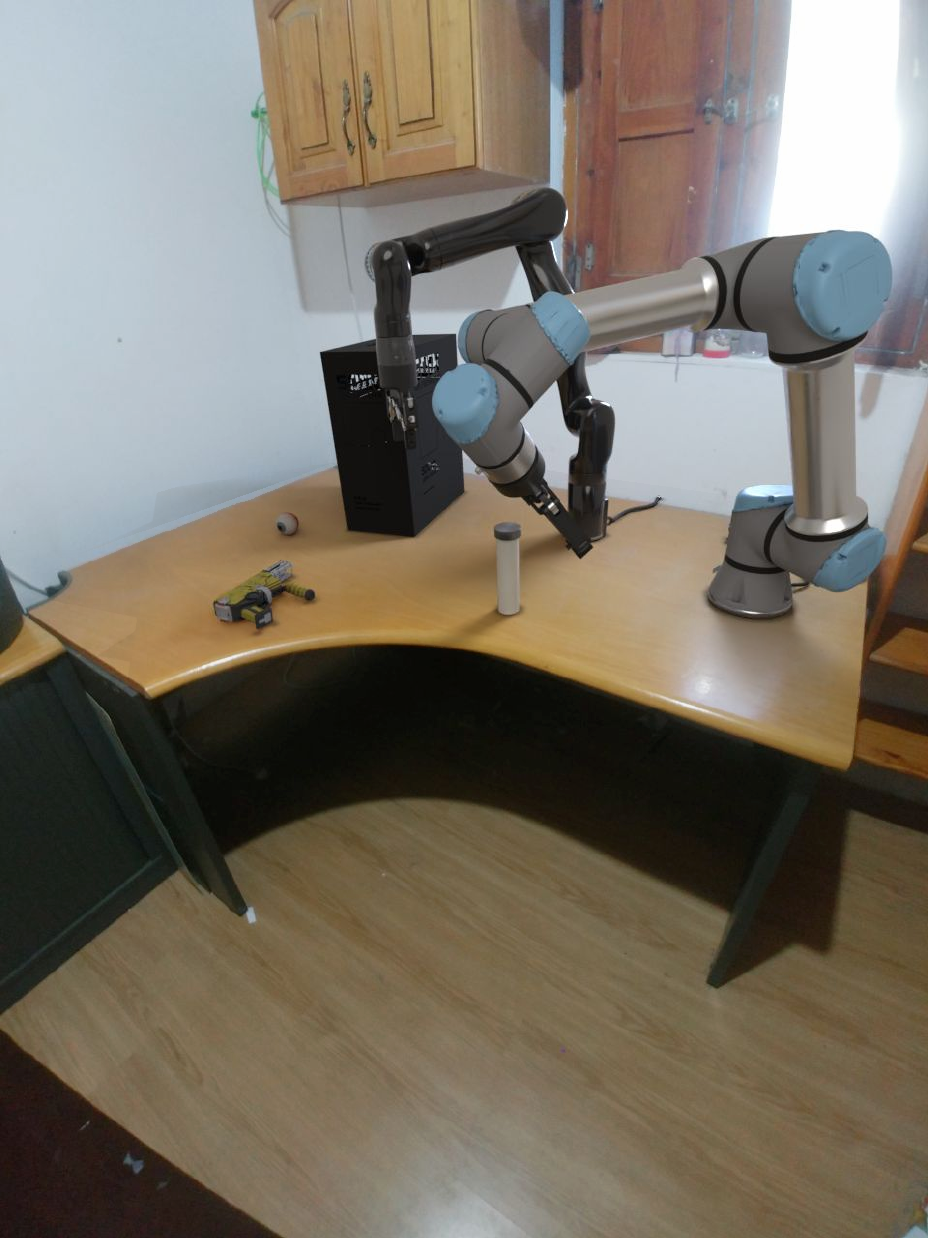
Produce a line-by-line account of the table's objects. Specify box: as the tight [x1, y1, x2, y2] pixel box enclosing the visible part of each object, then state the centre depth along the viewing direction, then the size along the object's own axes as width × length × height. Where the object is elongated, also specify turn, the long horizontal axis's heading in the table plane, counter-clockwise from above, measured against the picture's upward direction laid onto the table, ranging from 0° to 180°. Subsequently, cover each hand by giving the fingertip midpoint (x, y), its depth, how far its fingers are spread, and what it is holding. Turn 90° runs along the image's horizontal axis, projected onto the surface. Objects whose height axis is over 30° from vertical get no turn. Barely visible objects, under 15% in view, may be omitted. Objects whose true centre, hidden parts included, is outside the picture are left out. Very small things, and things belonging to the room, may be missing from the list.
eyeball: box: [275, 511, 300, 536], centre depth 163 cm, size 6×6×6 cm
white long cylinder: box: [495, 537, 520, 616], centre depth 118 cm, size 4×4×18 cm
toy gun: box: [212, 559, 316, 630], centre depth 129 cm, size 5×24×15 cm
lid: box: [493, 521, 522, 541], centre depth 114 cm, size 5×5×2 cm
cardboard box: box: [319, 333, 465, 537], centre depth 166 cm, size 38×20×45 cm, turn 159°
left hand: (404, 444), depth 126 cm, fingers open, 8 cm apart
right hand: (559, 524), depth 97 cm, fingers open, 13 cm apart
